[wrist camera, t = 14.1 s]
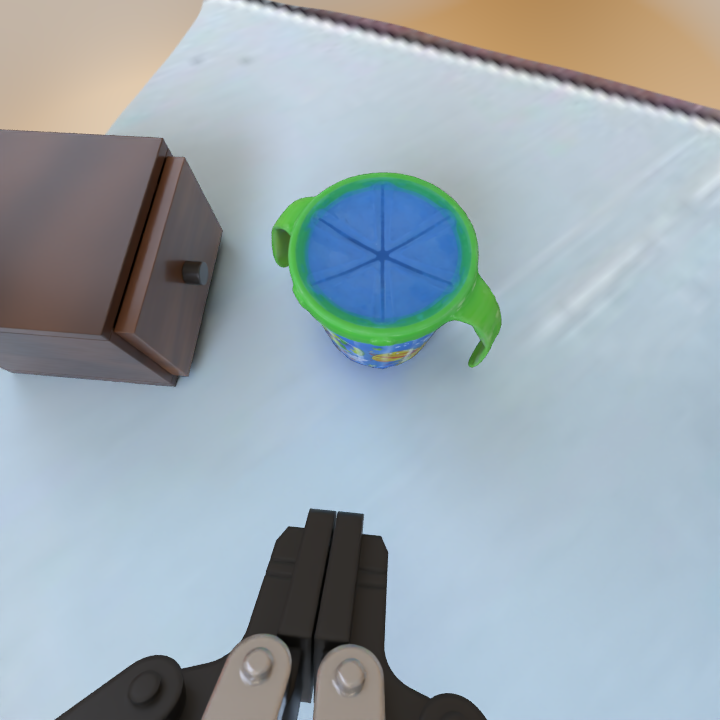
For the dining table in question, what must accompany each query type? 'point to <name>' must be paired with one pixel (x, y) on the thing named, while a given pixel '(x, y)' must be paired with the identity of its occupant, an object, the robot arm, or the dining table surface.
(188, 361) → the drawer
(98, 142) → the cabinet
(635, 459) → the dining table surface
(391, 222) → the snack cup
